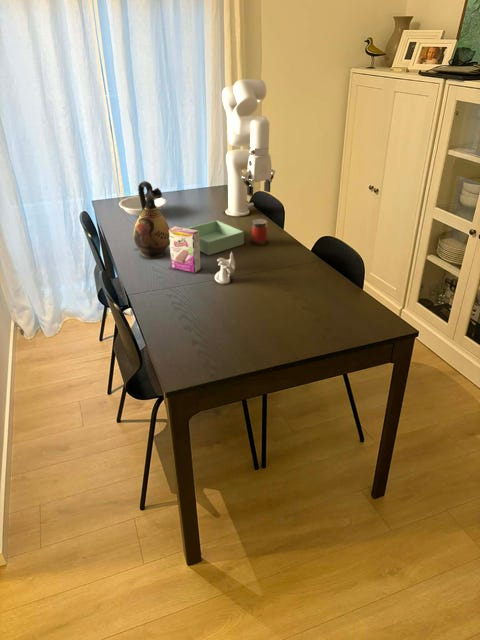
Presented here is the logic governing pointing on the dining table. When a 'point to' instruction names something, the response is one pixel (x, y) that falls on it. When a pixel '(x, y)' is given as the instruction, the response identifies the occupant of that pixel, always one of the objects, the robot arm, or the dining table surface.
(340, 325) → the dining table surface
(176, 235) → the candy bar box
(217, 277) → the figurine
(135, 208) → the soup bowl
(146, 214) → the ceramic jug
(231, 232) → the green square tray
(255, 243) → the red glass jar
